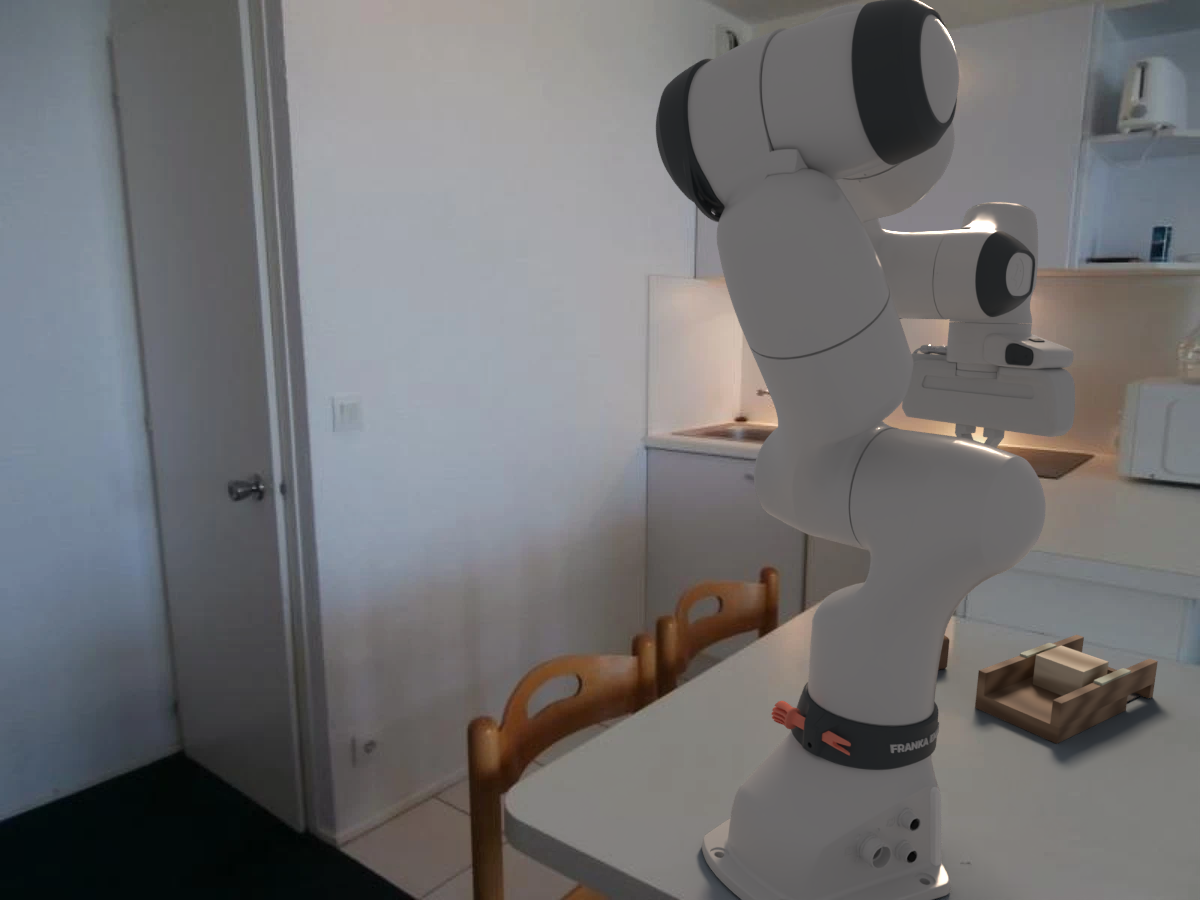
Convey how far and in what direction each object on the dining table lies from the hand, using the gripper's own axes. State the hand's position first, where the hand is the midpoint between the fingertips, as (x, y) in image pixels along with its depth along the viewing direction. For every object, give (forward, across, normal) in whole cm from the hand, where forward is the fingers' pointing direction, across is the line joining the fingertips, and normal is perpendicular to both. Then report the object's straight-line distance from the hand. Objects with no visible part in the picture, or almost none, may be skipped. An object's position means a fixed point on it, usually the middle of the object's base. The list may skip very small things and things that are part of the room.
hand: (976, 463), depth 102 cm
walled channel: (+31, +7, +13) cm, 35 cm away
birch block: (+29, +7, +14) cm, 33 cm away
